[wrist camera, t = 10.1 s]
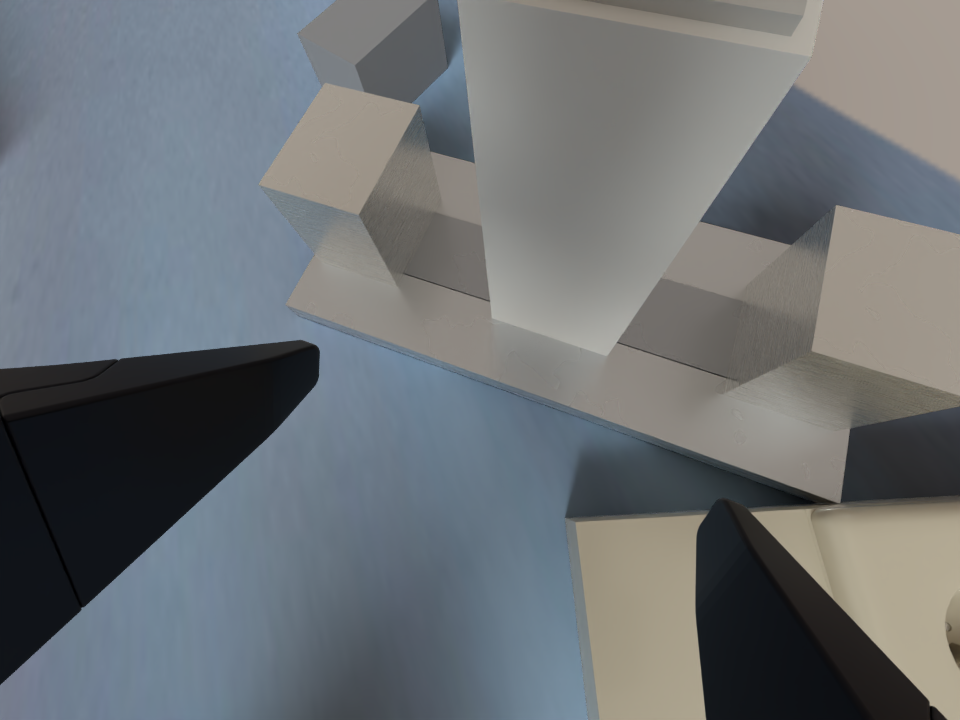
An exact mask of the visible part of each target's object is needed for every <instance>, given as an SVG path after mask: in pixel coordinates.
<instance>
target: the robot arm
mask: <svg viewBox="0 0 960 720" xmlns="http://www.w3.org/2000/svg"><path fill="white" fill-rule="evenodd" d="M319 358H320V351H319V348H318V347H317V346H316V345H314V344H311V343H309V342H306V341H303V340H297V341H287V342H278V343H268V344H258V345H249V346H239V347H229V348H220V349H210V350H200V351H191V352H181V353H171V354H162V355H152V356H142V357H133V358H123V359H120V360H119V361H118V360H117V359H113V360H103V361H93V362H83V363H72V364H61V365H49V366H35V367H22V368H7V369H0V685H1V684H2V683H3V682H4V681H5V680H6V679H7V678H8V677H9V676H11V675H12V674H13V673H14V672H15V671H16V670H17V669H18V668H19V667H20V666H21V665H22V664H24V663H25V662H26V661H27V660H28V659H29V658H30V657H31V656H32V655H33V654H34V653H35V652H37V651H38V650H39V649H40V648H41V647H42V646H43V645H44V644H45V643H46V642H47V641H48V640H50V639H51V638H52V637H53V636H54V635H55V634H56V633H57V632H58V631H59V630H60V629H61V628H63V627H64V626H65V625H66V624H67V623H68V622H69V621H70V620H71V619H72V618H73V617H74V616H76V615H77V614H78V613H79V612H80V611H81V607H85V606H86V605H87V604H88V603H89V602H90V601H91V600H93V599H94V598H95V597H96V596H97V595H98V594H99V593H100V592H101V591H102V590H103V589H104V588H106V587H107V586H108V585H109V584H110V583H111V582H112V581H113V580H114V579H115V578H116V577H117V576H119V575H120V574H121V573H122V572H123V571H124V570H125V569H126V568H127V567H128V566H129V565H130V564H132V563H133V562H134V561H135V560H136V559H137V558H138V557H139V556H140V555H141V554H142V553H143V552H145V551H146V550H147V549H148V548H149V547H150V546H151V545H152V544H153V543H154V542H155V541H157V540H158V539H159V538H160V537H161V536H162V535H163V534H164V533H165V532H166V531H167V530H168V529H170V528H171V527H172V526H173V525H174V524H175V523H176V522H177V521H178V520H179V519H180V518H181V517H183V516H184V515H185V514H186V513H187V512H188V511H189V510H190V509H191V508H192V507H193V506H194V505H196V504H197V503H198V502H199V501H200V500H201V499H202V498H203V497H204V496H205V495H206V494H207V493H209V492H210V491H211V490H212V489H213V488H214V487H215V486H216V485H217V484H218V483H219V482H220V481H222V480H223V479H224V478H225V477H226V476H227V475H228V474H229V473H230V472H231V471H232V470H234V469H235V468H236V467H237V466H238V465H239V464H240V463H241V462H242V461H243V460H244V459H245V458H247V457H248V456H249V455H250V454H251V453H252V452H253V451H254V450H255V449H256V448H257V447H258V446H260V445H261V444H262V443H263V442H264V441H265V440H266V439H267V438H268V437H269V436H270V435H271V434H272V433H273V432H274V431H275V430H276V429H277V428H278V427H279V426H280V425H281V424H282V423H283V422H284V420H285V419H286V418H287V417H288V416H289V415H290V414H291V412H292V411H293V410H294V409H295V408H296V407H297V406H298V405H299V403H300V402H301V401H302V400H303V399H304V398H305V397H306V395H307V394H308V393H309V392H310V391H311V390H312V389H313V388H314V386H315V385H316V383H317V381H318V378H319ZM695 613H696V626H697V636H698V646H699V656H700V666H701V676H702V685H703V695H704V705H705V715H706V720H947V718H946V717H945V716H944V715H943V714H942V713H941V712H940V711H939V710H938V709H937V708H936V707H934V706H930V702H929V700H928V699H927V698H926V696H925V695H924V694H923V693H922V692H921V691H920V690H919V689H918V688H917V687H916V686H915V685H914V684H913V683H912V682H911V681H910V680H909V679H908V677H907V676H906V675H905V674H904V673H903V672H902V671H901V670H900V669H899V668H898V667H897V666H896V665H895V664H894V663H893V662H892V661H891V660H890V659H889V657H888V656H887V655H886V654H885V653H884V652H883V651H882V650H881V649H880V648H879V647H878V646H877V645H876V644H875V643H874V642H873V641H872V640H871V639H870V637H869V636H868V635H867V634H866V633H865V632H864V631H863V630H862V629H861V628H860V627H859V626H858V625H857V624H856V623H855V622H854V621H853V620H852V618H851V617H850V616H849V615H848V614H847V613H846V612H845V611H844V610H843V609H842V608H841V607H840V606H839V605H838V604H837V603H836V602H835V601H834V600H833V598H832V597H831V596H830V595H829V594H828V593H827V592H826V591H825V590H824V589H823V588H822V587H821V586H820V585H819V584H818V583H817V582H816V581H815V580H814V578H813V577H812V576H811V575H810V574H809V573H808V572H807V571H806V570H805V569H804V568H803V567H802V566H801V565H800V564H799V563H798V562H797V561H796V559H795V558H794V557H793V556H792V555H791V554H790V553H789V552H788V551H787V550H786V549H785V548H784V547H783V546H782V545H781V544H780V543H779V542H778V540H777V539H776V538H775V537H774V536H773V535H772V534H771V533H770V532H769V531H768V530H767V529H766V528H765V527H764V526H763V525H762V524H761V523H760V522H759V520H758V519H757V518H756V517H755V516H754V515H753V514H752V513H751V512H750V511H749V510H748V509H747V508H746V507H745V506H744V505H742V504H739V503H736V502H734V501H731V500H728V499H726V498H721V499H718V500H717V501H716V502H715V504H714V505H713V506H712V508H711V509H710V511H709V512H708V514H707V515H706V517H705V518H704V520H703V521H702V522H701V524H700V526H699V528H698V531H697V535H696V583H695Z"/></svg>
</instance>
